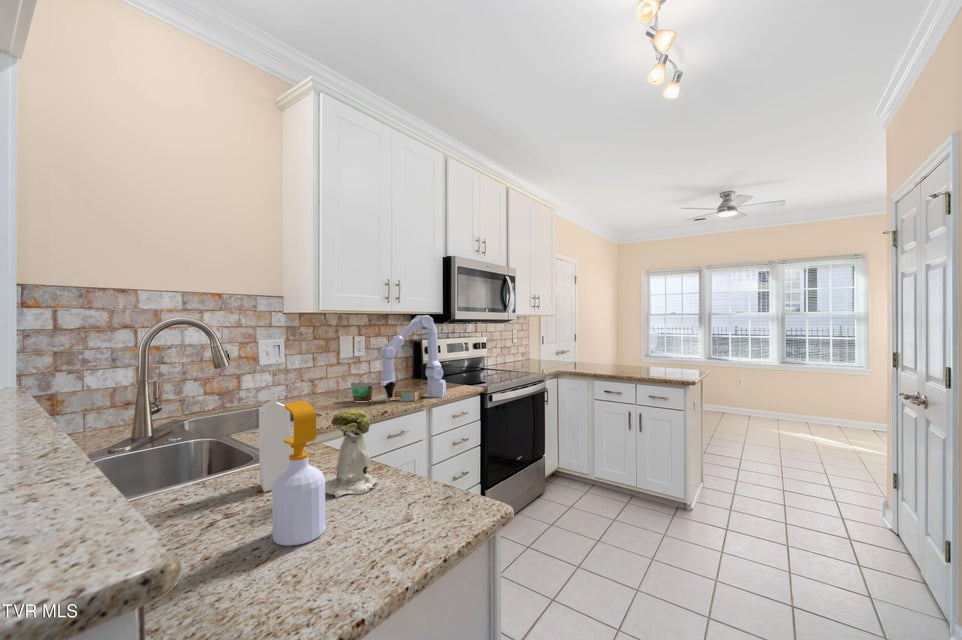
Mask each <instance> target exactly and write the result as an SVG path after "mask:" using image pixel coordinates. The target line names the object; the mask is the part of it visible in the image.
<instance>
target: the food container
mask: <svg viewBox="0 0 962 640" xmlns="http://www.w3.org/2000/svg"><path fill="white" fill-rule="evenodd" d="M373 386H374V382H373V381H367V382H354V380H353V381H351V382H350V387H351V389H352V391H351V392H352V399H353V400H354V401H369V400H371V401H372V396H373V395H372V394H373ZM353 400H352V401H353Z"/></svg>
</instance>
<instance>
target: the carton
mask: <svg viewBox="0 0 962 640" xmlns="http://www.w3.org/2000/svg"><path fill="white" fill-rule="evenodd" d="M401 393H413V400H401ZM393 397H400V398H398V399H395V400H401V401H400V402H416V401H419V400H420V399H421V390H412V389H411V390H408V389H407V390H405V389H401V390H400V389H398V390H397V389H394V390H393ZM393 397H392V398H393ZM389 399H391V398H388V400H389Z"/></svg>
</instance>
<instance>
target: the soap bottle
mask: <svg viewBox="0 0 962 640" xmlns="http://www.w3.org/2000/svg"><path fill="white" fill-rule="evenodd" d="M283 405H284V407H285V408H286V409H287V410H288V411H289V412H290V415H292V417H293V437H290V438H287V439H284V440H283V441H284V443H287V444H290V445H291V449H293V453H291V455H289V468H288V469H287V470H285V471H284V472H282V473H281V474H280V475H279V476H278V477H277V478H276V479H275V480H274V482H273V485H272V490H271V501H272V503H271V504H272V505H271V506H272V507H271V508H272V510H271V511H272V513H271V514H272V515H271V516H272V517H271V519H272V539H273V542H274V543H276V544H277V545H279V546H284V547H292V546H294V545H295V546H300V545H303V544H307V543H309V542H312V541H314V540H316V539H318V538H320V536H322V535H323V534H324V532H325V531H326V528H327V527H326V526H327V525H326V523H327V522H326V519H327V516H326V512H327V511H326V492H325V480H326V478H325V475H324V473H323V472H322V471H321V470H320V469H318V468H317V467H315V466H312V465H310V464H309V452H306V451H304V448H305V447H306V446H307V443H309V442H312V441H315V440H316V439H317V413H316V410H315V408H314V407H313V406H312V405H311V404H310V403H308V402H307V401H306V400H305V401H304V400H299V401H293V402H286V403H284V404H283Z"/></svg>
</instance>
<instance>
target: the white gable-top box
mask: <svg viewBox="0 0 962 640" xmlns="http://www.w3.org/2000/svg"><path fill="white" fill-rule="evenodd" d="M284 405H285V404H283V403H280V402H278V398H277V396H276V395H275V394H271V400H269V401H268V402H266V403H264V404H263V405H262V406H260V407H259V408H258V429H259V430H258V432H259V436H258V442H259V443H258V444H259V447H258V448H259V449H258V451H259V485H260V487H261V489H262V491H263V492H264V493H266V492H270V491H271V492H272V485H273V482H274V480H275V479H276V478H277V477H278V476H279V475H280V474H281V473H282V472H284V471H285V470H287V469H288V468H289V455H291V454H292V453H291V452H292V451H291V449H292V448H291V445H290V444H287V443H284V441H283V440H284V439H287V438H291V413H290V412H289V411H288V410H287V409H286V408H285V407H284Z"/></svg>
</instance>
